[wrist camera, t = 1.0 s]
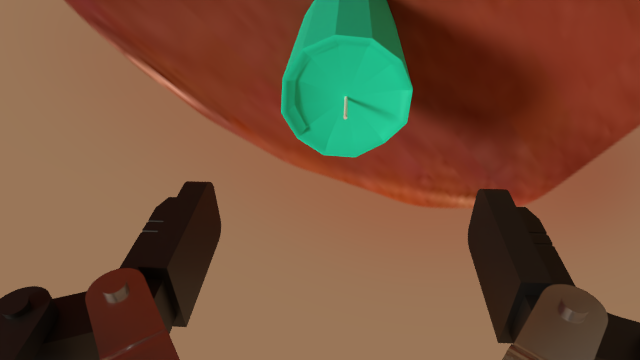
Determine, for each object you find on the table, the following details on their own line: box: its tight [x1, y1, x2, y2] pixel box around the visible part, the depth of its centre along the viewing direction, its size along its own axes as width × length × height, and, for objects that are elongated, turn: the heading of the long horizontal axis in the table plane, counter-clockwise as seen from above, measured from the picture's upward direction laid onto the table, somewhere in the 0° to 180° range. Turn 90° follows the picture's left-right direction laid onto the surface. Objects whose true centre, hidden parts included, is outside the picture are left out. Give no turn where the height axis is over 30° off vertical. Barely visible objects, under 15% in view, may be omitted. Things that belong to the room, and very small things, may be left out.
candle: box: [281, 0, 413, 157], centre depth 23 cm, size 6×6×12 cm
